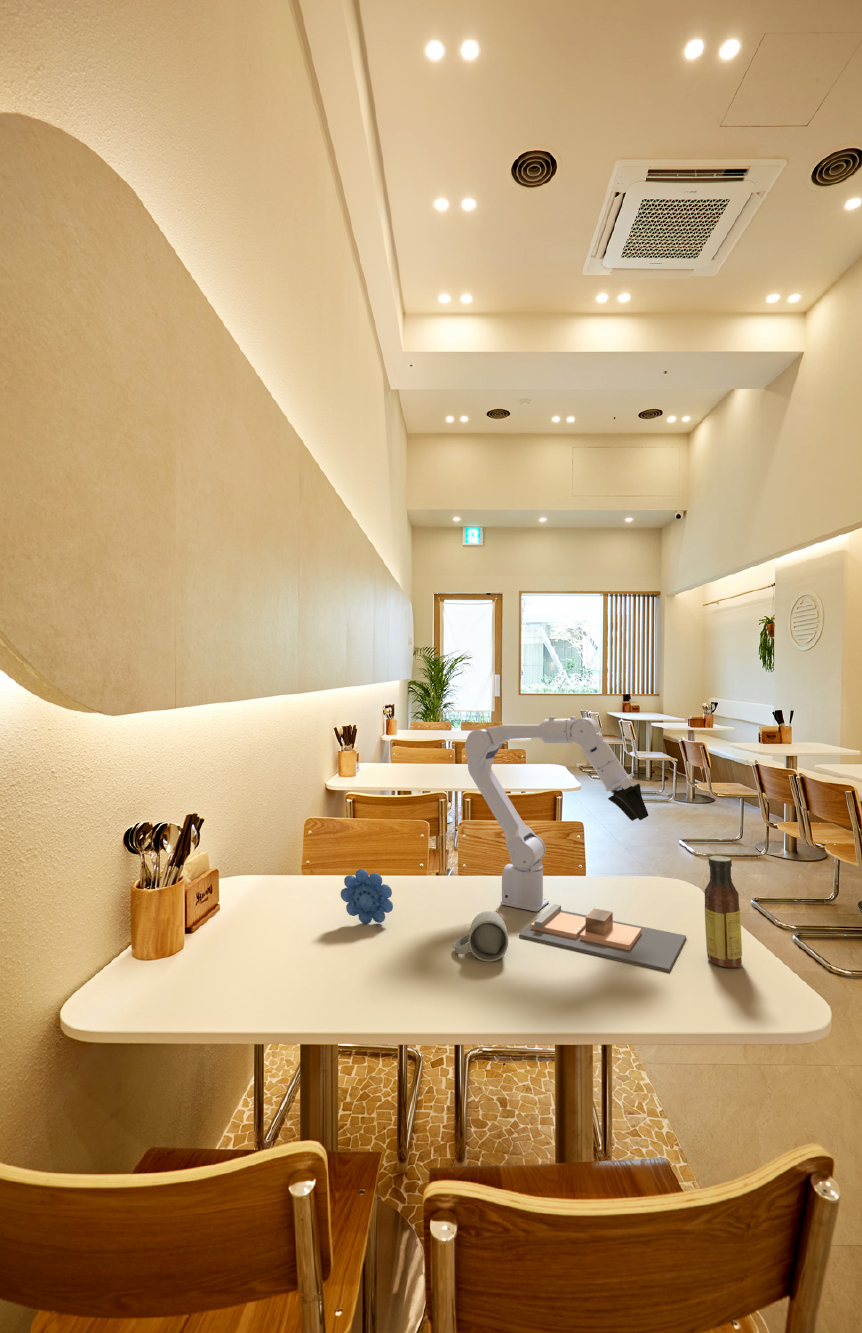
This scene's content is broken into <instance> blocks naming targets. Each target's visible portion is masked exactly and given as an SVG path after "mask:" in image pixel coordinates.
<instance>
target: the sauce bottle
mask: <svg viewBox="0 0 862 1333" xmlns="http://www.w3.org/2000/svg"><path fill="white" fill-rule="evenodd" d="M708 865H709V882H708V884H707V885H706V887H705V889H704V922H705V923H704V924H705V925H704V926H705V942H706V954H707V959H708V961H710V962H711V963H712V964H713V965H715V966H718V967H723V968H727V969H729V968H730V969H735V968H739V967H740V966H741V965H742V958H743V957H742V956H743V945H742V941H743V940H742V924H741V923H742V920H741V908H740V895H739V892H738V890H737V889H736V887H735V884H734V883H733V881H732V880H733V878H732V872H731V871H732V869H731V868H732V865H733V862H732V858H730V857H728V856H723V855H712V856H708Z"/></svg>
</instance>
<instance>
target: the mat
mask: <svg viewBox="0 0 862 1333" xmlns="http://www.w3.org/2000/svg"><path fill="white" fill-rule="evenodd" d="M560 912H561V913H566V914H571V915H576V916H581V917H586V916H587V915H588V914H587V915H586V914H582V913H577V912H571V911H567V910H563V909H561V911H560ZM613 923H617V924H622V925H627V926H632V927H637V928H641V935H640V936H639V938H638V939H637V940H636V942H635V943H634V945H633V946H632V948H631V949H630V951H629V950H625V949H620V948H616V947H612V946H607V945H603V944H598V943H594V942H589V941H585V940H580V936H579V937H578V938H577V939H574V938H569V937H565V936H560V935H556V934H551V933H547V932H543V931H538V930H534V929H531V924H529V925H528V926H526V928H525V929H523V930H522V931H521V932H520V933H519V935H518V938H521V939H526V940H530V941H534V942H538V943H543V944H547V945H550V946H551V945H552V946H555V947H560V948H564V949H568V950H571V951H577V952H580V953H581V952H582V953H585V954H590V955H593V956H596V957H597V956H598V957H602V958H607V959H611V960H615V961H619V962H624V963H627V964H632V965H635V966H636V965H637V966H641V967H645V968H650V969H653V970H657V971H663V972H665V973H666V972H667V973H670V972H671V970H672V968H673V966H674V963H675V962H676V960H677V958H678V956H679V953H680V952H681V949H682V948H683V946H684V944H685V942H686V940H687V935H685V934H681V933H675V932H670V931H665V930H661V929H655V928H650V927H645V926H641V925H636V924H631V923H626V922H621V921H616V920H613Z"/></svg>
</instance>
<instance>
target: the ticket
mask: <svg viewBox="0 0 862 1333" xmlns="http://www.w3.org/2000/svg"><path fill="white" fill-rule="evenodd" d="M561 910H562V905H560V904H556V903H555V904H553V905H551V907H549V908H548V909H547V910H546V911H545V912H543V913H542V914H541V915H540V916H538V918H536V919H535V920H534V921H533V922H532V923H530V925H531V929H534V930H538V931H543V932H547V933H551V934H556V935H560V936H565V937H569V938H574V939H577V938H578V937H579V936H580V934H581V933H582V932H583V931H584V930H585V917H581V916H576V915H571V914H566V913H561V912H560V911H561Z"/></svg>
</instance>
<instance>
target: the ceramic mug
mask: <svg viewBox="0 0 862 1333" xmlns="http://www.w3.org/2000/svg"><path fill="white" fill-rule="evenodd" d="M508 946H509V936H508V931H507V925H506V923H505V920H504V919H503V918H502V917H501V915H499V914H497V913H496V912H495V911H488V910H487V911H483V912H481V913H478V914H477V915H476V916H475V917H474V918H473V920H472V922H471V924H470V929H469V933H467V934H465V935H463V936H461V937H459V938H458V939H457V940H456V941H455V942H454V943H453V948H454V951H455V953H456V954H457V955H464V954H467V953H468V954H469V953H470V952H471V954H472V955H473V956H474V957H475V958H476V959H478V960H480V961H483V962H487V963H489V962H490V963H491V962H495V961H498V960H500V959H501V958H502V957H503V956H505V953H506V952H507V949H508Z"/></svg>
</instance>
